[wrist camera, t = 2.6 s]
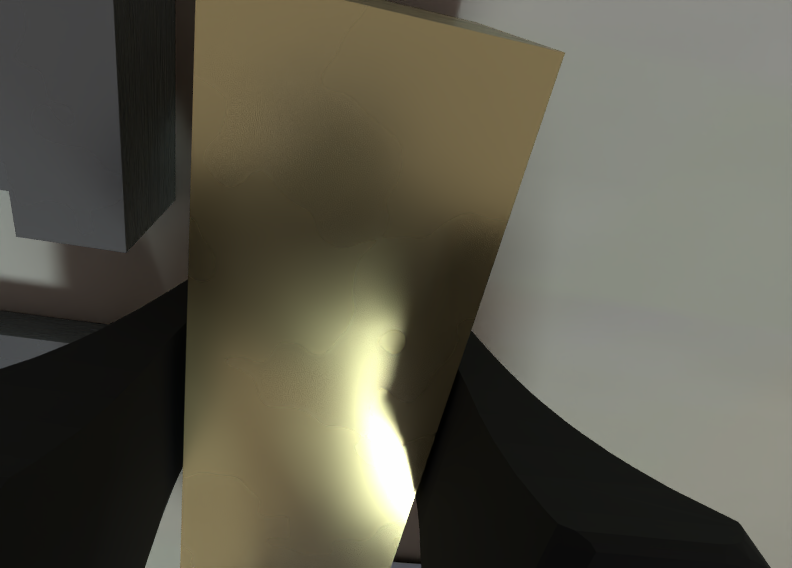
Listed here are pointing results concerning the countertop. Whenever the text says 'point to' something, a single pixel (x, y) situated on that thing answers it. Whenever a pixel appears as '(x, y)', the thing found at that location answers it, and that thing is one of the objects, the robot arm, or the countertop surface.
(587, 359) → the countertop surface
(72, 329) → the chain end
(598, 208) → the countertop surface
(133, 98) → the chain end
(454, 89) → the link bar
